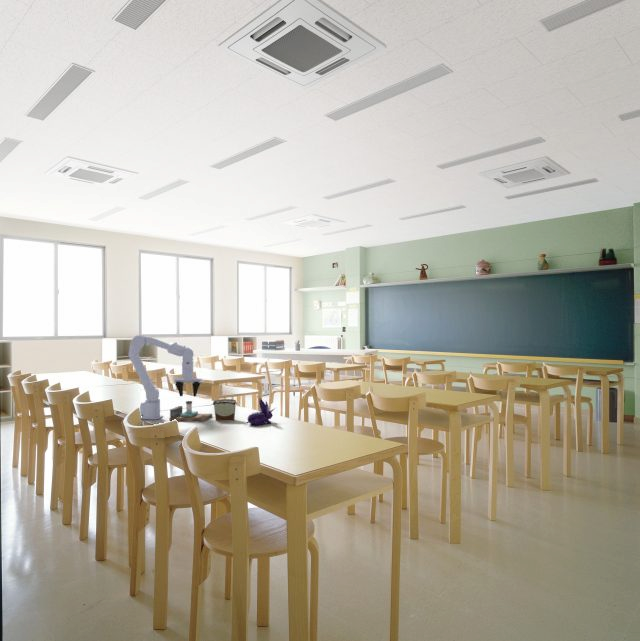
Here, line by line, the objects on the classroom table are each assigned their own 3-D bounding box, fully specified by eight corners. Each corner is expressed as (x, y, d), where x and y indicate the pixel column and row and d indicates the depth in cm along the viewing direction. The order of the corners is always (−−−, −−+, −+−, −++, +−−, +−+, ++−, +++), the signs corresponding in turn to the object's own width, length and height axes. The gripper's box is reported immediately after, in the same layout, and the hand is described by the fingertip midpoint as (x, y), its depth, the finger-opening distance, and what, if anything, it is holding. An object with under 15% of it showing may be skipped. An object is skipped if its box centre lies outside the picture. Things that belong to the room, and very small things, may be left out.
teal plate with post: (180, 416, 247) (180, 402, 247) (186, 413, 255) (186, 400, 255) (191, 416, 246) (191, 402, 246) (197, 413, 254) (197, 400, 254)
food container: (240, 418, 250) (239, 398, 250) (236, 420, 244) (236, 400, 243) (216, 418, 251) (216, 398, 251) (212, 420, 245) (212, 400, 245)
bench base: (169, 421, 245) (169, 409, 245) (179, 416, 257) (179, 405, 257) (203, 421, 243) (203, 410, 243) (212, 416, 255) (212, 406, 255)
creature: (282, 422, 238) (281, 397, 238) (249, 428, 227) (249, 401, 227) (272, 419, 245) (272, 395, 245) (240, 425, 234) (239, 399, 234)
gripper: (203, 369, 261) (204, 395, 261) (178, 369, 264) (178, 394, 264) (198, 371, 254) (198, 397, 255) (172, 371, 257) (172, 396, 257)
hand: (188, 396), depth 259 cm, fingers open, 7 cm apart
